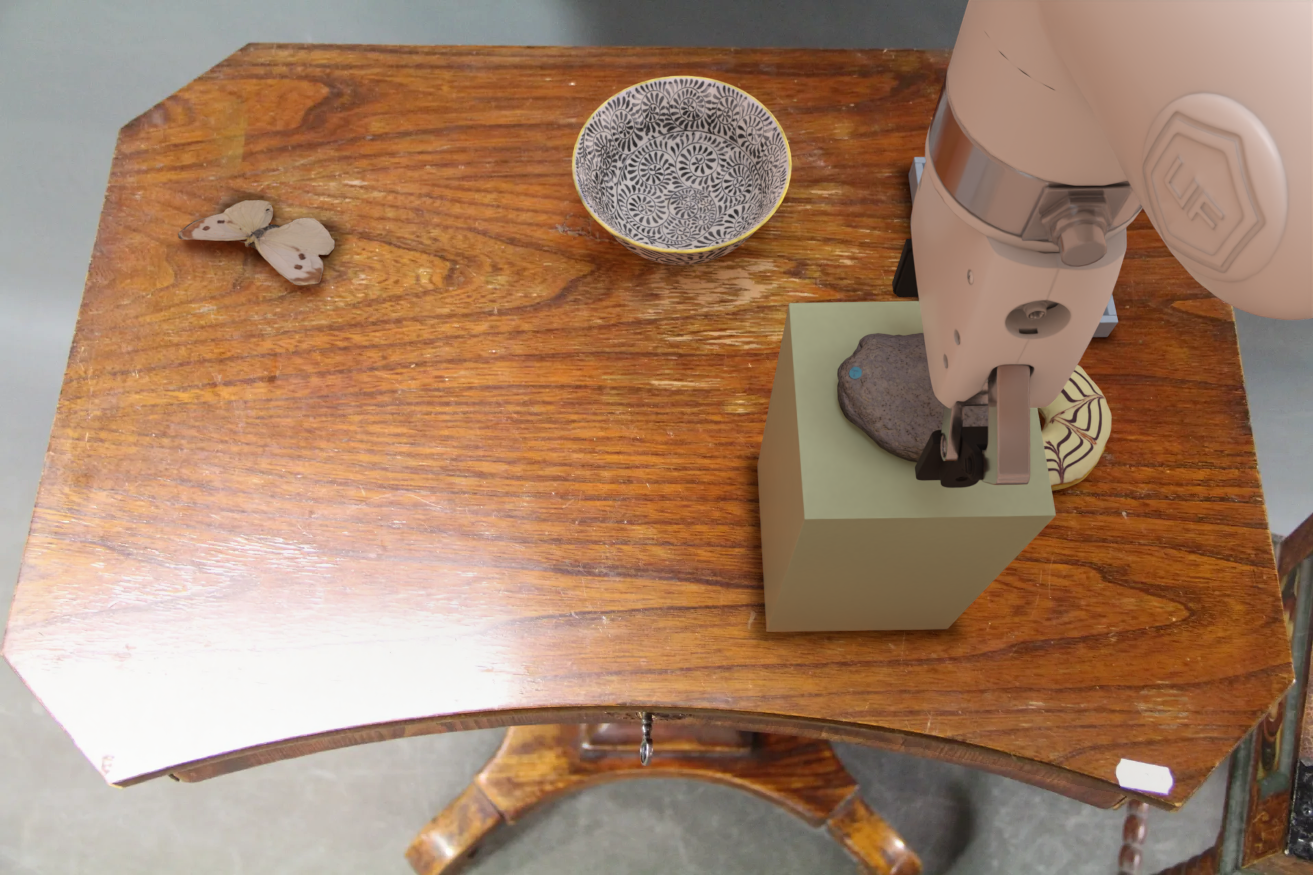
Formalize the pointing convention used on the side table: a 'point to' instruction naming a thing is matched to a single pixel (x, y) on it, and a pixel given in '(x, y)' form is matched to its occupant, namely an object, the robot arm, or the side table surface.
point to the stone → (895, 394)
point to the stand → (871, 498)
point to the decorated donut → (1074, 430)
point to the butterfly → (269, 238)
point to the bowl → (681, 168)
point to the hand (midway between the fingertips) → (936, 378)
